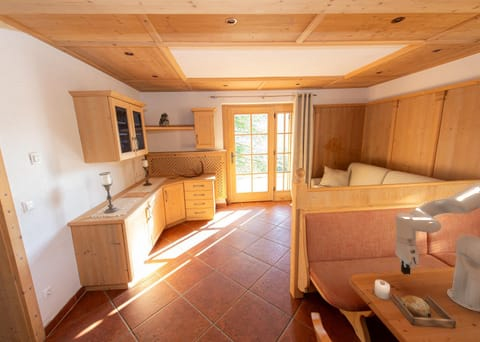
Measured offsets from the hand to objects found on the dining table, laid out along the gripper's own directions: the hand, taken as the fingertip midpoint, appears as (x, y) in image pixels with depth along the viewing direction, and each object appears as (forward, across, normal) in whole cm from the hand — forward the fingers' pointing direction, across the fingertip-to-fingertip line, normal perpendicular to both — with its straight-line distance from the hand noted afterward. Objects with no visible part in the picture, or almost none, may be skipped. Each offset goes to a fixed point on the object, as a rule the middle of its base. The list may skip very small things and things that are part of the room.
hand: (405, 273), depth 97 cm
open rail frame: (+10, -12, +2) cm, 16 cm away
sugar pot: (+9, -4, +13) cm, 16 cm away
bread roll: (+10, -12, +4) cm, 16 cm away
